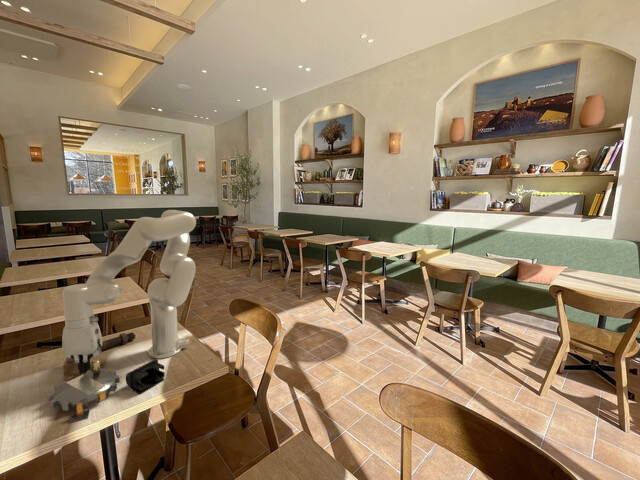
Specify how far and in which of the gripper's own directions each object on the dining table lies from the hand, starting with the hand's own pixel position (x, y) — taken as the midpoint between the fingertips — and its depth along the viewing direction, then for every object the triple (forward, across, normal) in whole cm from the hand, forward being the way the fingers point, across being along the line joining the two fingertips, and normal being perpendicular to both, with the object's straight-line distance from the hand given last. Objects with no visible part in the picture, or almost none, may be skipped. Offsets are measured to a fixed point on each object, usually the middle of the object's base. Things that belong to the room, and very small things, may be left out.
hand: (84, 371), depth 102 cm
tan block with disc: (+5, +8, -9) cm, 13 cm away
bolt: (+5, +2, -26) cm, 27 cm away
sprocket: (+3, -4, +6) cm, 8 cm away
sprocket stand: (+5, -5, +10) cm, 13 cm away
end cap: (+5, -20, +2) cm, 21 cm away
